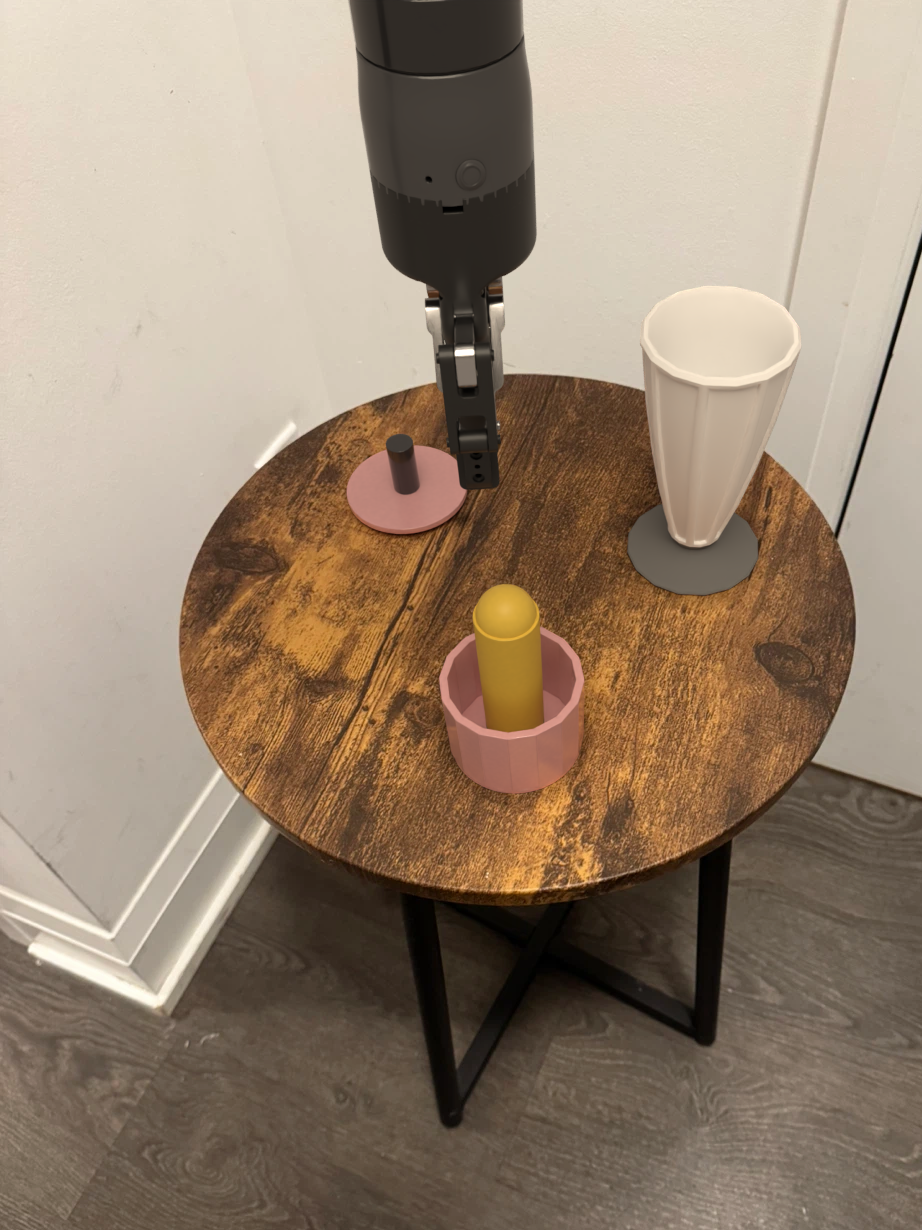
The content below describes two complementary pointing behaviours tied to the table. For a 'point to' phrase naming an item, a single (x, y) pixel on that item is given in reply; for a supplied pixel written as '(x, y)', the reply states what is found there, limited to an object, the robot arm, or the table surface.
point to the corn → (509, 658)
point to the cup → (708, 430)
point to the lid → (405, 488)
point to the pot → (518, 754)
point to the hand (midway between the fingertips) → (478, 433)
